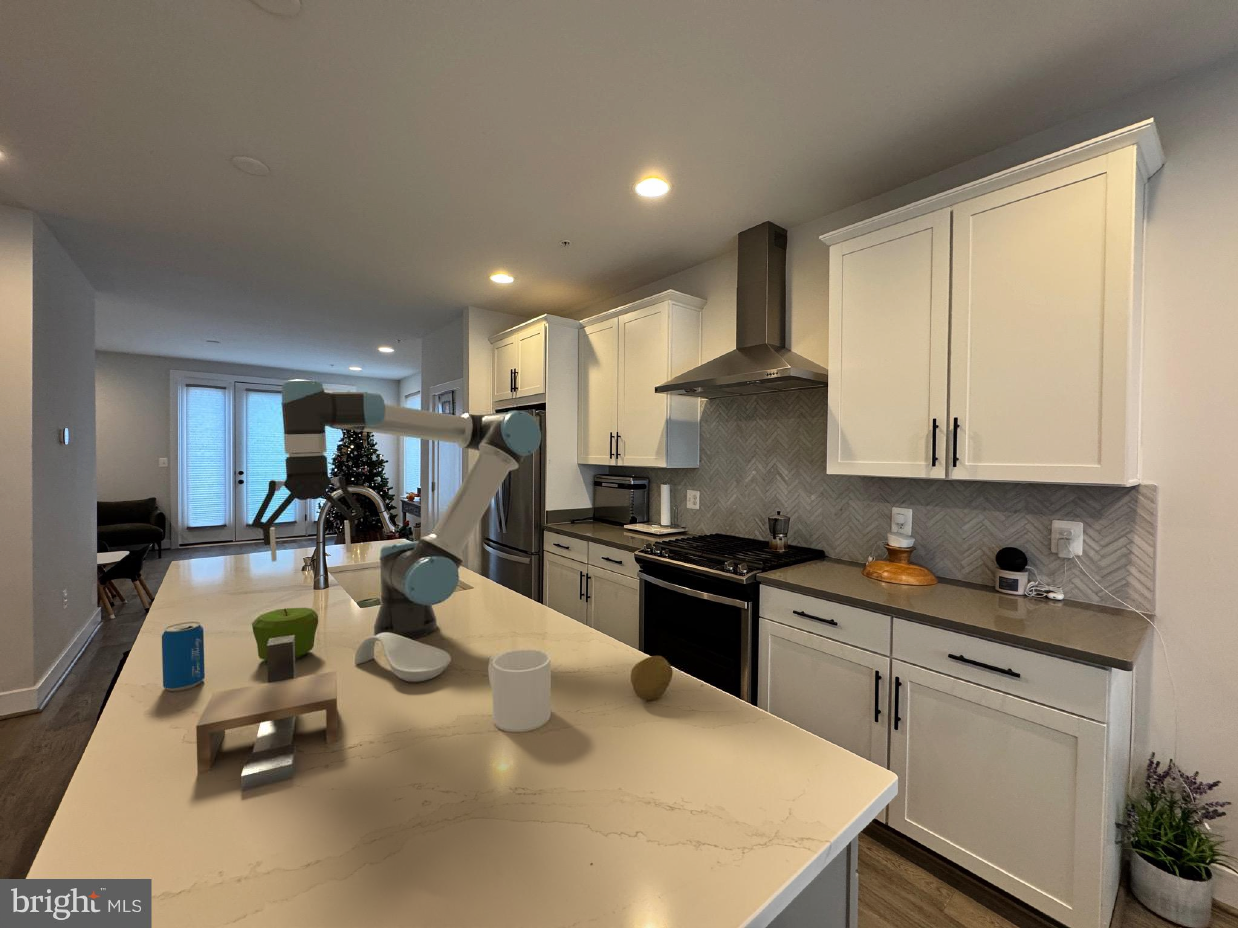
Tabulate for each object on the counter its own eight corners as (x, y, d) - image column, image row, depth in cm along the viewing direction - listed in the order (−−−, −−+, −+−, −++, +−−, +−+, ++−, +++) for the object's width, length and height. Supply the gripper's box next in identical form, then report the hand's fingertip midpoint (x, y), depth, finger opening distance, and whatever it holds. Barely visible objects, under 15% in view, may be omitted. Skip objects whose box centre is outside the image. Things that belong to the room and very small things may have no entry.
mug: (562, 713, 95) (562, 656, 94) (523, 739, 86) (522, 676, 86) (511, 695, 101) (510, 642, 101) (470, 718, 93) (469, 660, 93)
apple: (257, 673, 112) (256, 620, 112) (249, 656, 121) (248, 607, 121) (323, 658, 120) (323, 608, 120) (311, 643, 130) (310, 597, 129)
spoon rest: (462, 671, 113) (462, 637, 113) (420, 694, 103) (419, 657, 103) (383, 653, 124) (383, 622, 123) (338, 672, 113) (337, 639, 113)
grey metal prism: (298, 696, 101) (297, 634, 101) (291, 748, 84) (289, 673, 83) (267, 702, 99) (266, 639, 99) (252, 757, 81) (250, 679, 81)
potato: (626, 705, 97) (626, 662, 97) (639, 687, 105) (639, 647, 104) (663, 711, 95) (663, 667, 95) (673, 693, 102) (673, 651, 102)
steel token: (295, 759, 81) (295, 743, 81) (292, 780, 76) (292, 763, 76) (248, 770, 79) (248, 753, 79) (241, 793, 73) (241, 775, 73)
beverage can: (181, 693, 103) (179, 632, 103) (154, 691, 104) (152, 630, 104) (212, 679, 109) (211, 621, 109) (187, 677, 110) (185, 619, 110)
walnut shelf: (337, 708, 96) (336, 670, 96) (337, 740, 86) (336, 697, 86) (214, 734, 88) (212, 692, 88) (197, 773, 77) (196, 725, 77)
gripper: (369, 452, 121) (374, 544, 122) (234, 457, 108) (242, 560, 109) (373, 452, 114) (379, 550, 115) (230, 458, 101) (238, 568, 102)
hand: (312, 555), depth 112 cm, fingers open, 13 cm apart
